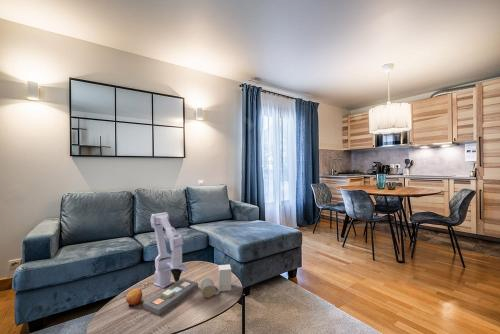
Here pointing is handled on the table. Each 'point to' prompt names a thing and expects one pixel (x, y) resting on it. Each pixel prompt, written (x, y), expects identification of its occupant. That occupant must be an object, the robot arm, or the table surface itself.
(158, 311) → the keypad
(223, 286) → the supplement box
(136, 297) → the fruit
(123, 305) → the table surface
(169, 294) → the key sage
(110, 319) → the table surface
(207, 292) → the ceramic mug
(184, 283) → the key ivory
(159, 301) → the key terracotta
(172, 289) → the key bluegrey
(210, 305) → the table surface
